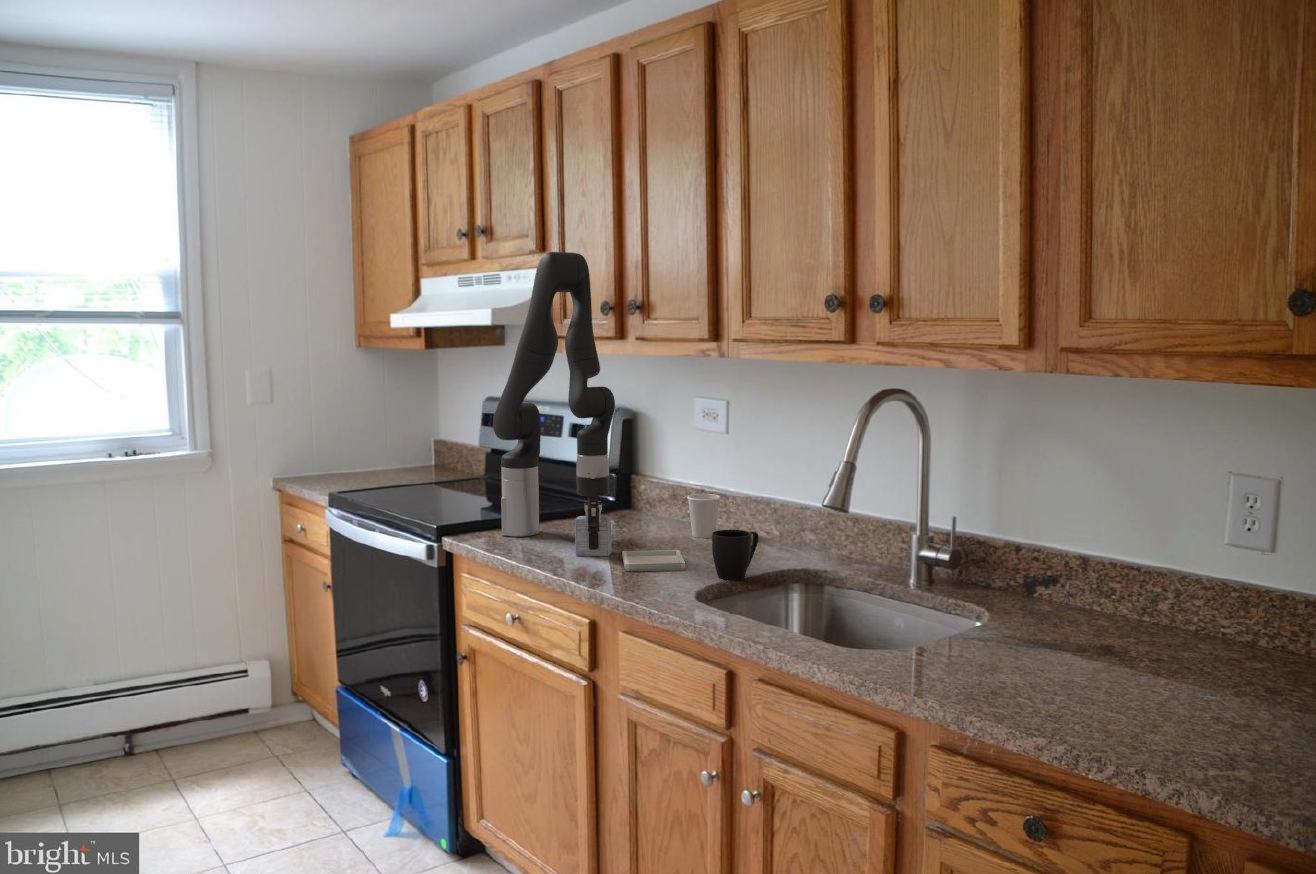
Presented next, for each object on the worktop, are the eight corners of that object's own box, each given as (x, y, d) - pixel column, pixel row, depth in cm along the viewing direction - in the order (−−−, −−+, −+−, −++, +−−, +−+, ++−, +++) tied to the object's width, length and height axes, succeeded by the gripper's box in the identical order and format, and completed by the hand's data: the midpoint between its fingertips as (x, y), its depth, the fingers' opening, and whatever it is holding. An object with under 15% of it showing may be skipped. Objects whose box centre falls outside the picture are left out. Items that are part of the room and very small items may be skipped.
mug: (771, 575, 225) (771, 531, 224) (731, 584, 217) (731, 538, 216) (743, 568, 231) (743, 525, 230) (703, 577, 223) (703, 532, 222)
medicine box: (611, 552, 248) (611, 516, 247) (609, 557, 243) (608, 519, 242) (578, 552, 248) (577, 515, 247) (575, 556, 244) (574, 519, 243)
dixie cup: (710, 540, 261) (710, 500, 260) (681, 536, 265) (681, 497, 264) (726, 534, 268) (726, 495, 267) (697, 531, 272) (697, 492, 271)
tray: (625, 571, 229) (625, 564, 229) (622, 558, 242) (622, 551, 242) (685, 570, 230) (685, 562, 230) (679, 556, 243) (679, 550, 243)
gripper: (576, 469, 250) (577, 540, 252) (576, 478, 236) (577, 553, 238) (608, 469, 251) (608, 540, 253) (610, 478, 237) (610, 553, 239)
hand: (593, 546), depth 245 cm, fingers closed on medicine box, 5 cm apart
